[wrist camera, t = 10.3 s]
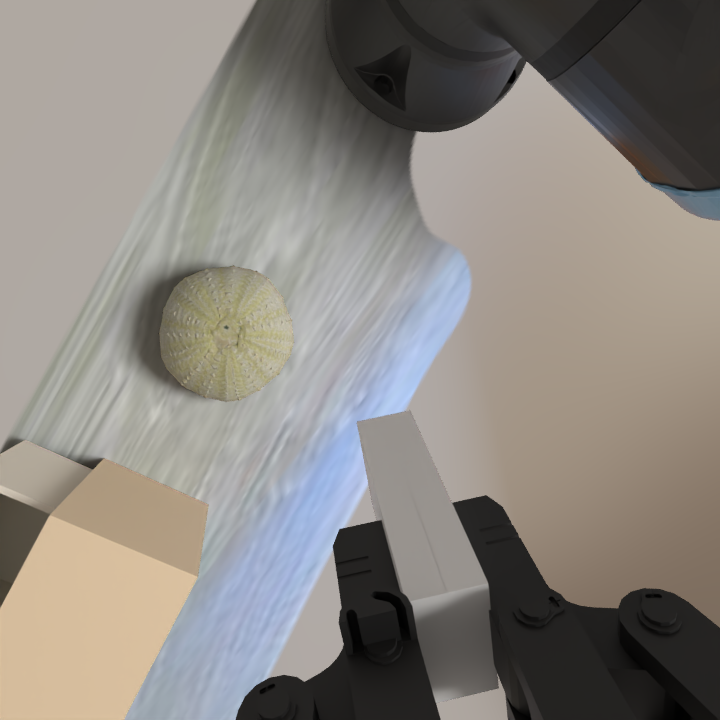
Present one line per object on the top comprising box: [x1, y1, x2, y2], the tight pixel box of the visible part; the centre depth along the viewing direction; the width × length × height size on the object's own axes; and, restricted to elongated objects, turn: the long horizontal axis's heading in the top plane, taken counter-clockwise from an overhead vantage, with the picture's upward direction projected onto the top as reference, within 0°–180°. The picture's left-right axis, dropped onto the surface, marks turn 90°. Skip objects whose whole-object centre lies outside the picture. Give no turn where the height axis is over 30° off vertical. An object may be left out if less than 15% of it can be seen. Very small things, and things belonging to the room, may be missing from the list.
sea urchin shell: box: [158, 265, 294, 402], centre depth 43 cm, size 9×8×8 cm
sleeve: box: [0, 458, 208, 720], centre depth 38 cm, size 8×11×13 cm
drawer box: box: [0, 440, 93, 608], centre depth 38 cm, size 10×9×9 cm
